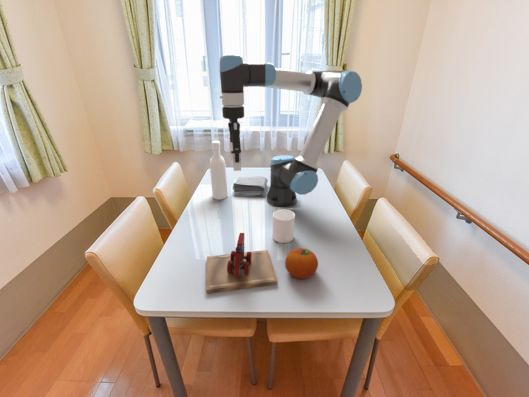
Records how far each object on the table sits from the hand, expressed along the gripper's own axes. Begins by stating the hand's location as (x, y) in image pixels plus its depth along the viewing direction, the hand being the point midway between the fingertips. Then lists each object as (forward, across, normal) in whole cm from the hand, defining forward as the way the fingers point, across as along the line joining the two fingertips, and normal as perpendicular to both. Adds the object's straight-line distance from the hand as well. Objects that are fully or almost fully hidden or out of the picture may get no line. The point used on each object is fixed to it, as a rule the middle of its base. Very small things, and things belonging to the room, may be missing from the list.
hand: (235, 164), depth 101 cm
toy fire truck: (+27, +27, -2) cm, 38 cm away
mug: (+29, +8, +17) cm, 35 cm away
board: (+29, +27, -2) cm, 39 cm away
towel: (+29, -36, +10) cm, 48 cm away
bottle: (+29, -32, -7) cm, 44 cm away
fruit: (+29, +31, +18) cm, 46 cm away
